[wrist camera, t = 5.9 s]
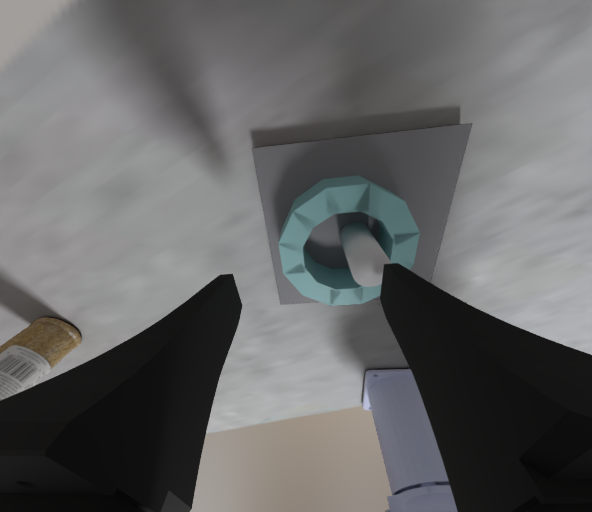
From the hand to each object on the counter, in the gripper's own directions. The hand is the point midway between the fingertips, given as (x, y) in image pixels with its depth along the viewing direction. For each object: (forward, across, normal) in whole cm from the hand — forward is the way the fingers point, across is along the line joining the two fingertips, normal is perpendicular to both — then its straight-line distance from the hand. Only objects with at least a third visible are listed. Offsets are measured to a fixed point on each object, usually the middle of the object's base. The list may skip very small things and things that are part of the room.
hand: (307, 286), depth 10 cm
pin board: (+6, -3, 0) cm, 7 cm away
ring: (+5, -2, 0) cm, 6 cm away
